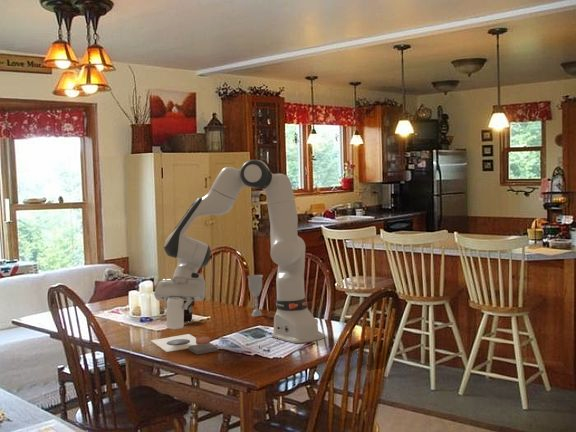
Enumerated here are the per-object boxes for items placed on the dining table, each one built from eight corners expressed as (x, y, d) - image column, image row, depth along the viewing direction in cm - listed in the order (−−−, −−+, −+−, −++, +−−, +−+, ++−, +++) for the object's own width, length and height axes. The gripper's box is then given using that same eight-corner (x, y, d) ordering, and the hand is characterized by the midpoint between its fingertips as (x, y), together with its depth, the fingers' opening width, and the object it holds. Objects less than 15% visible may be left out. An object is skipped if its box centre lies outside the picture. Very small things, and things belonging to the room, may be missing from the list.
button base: (217, 350, 233) (217, 346, 233) (196, 354, 229) (196, 350, 229) (209, 346, 240) (209, 342, 240) (189, 349, 236) (189, 345, 236)
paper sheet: (207, 345, 242) (207, 343, 242) (166, 352, 234) (166, 351, 234) (188, 334, 259) (188, 333, 259) (150, 341, 251) (150, 340, 251)
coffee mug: (181, 323, 279) (179, 301, 278) (171, 320, 286) (170, 299, 285) (203, 319, 286) (202, 297, 286) (194, 316, 293) (192, 295, 292)
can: (179, 330, 243) (180, 299, 242) (164, 328, 244) (164, 298, 243) (186, 326, 249) (186, 295, 248) (170, 324, 250) (170, 294, 249)
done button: (211, 342, 233) (211, 338, 233) (198, 345, 231) (198, 341, 231) (206, 340, 238) (206, 336, 238) (194, 342, 235) (193, 338, 235)
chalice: (261, 312, 294) (259, 274, 293) (267, 315, 288) (265, 276, 287) (246, 314, 291) (244, 276, 290) (252, 317, 285) (250, 277, 284)
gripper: (157, 274, 254) (147, 303, 245) (205, 274, 249) (197, 304, 240) (162, 283, 259) (153, 312, 250) (209, 283, 254) (202, 313, 245)
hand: (175, 308), depth 245 cm, fingers closed on can, 6 cm apart
